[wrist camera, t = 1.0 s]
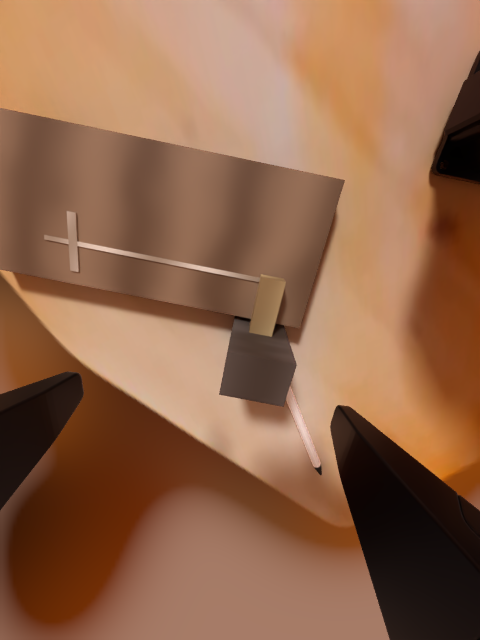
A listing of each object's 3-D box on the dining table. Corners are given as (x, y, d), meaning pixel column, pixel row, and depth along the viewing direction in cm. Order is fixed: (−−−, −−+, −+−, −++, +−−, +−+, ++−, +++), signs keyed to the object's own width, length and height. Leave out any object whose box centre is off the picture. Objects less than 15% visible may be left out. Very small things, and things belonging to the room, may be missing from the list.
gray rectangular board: (334, 185, 17) (345, 179, 15) (295, 319, 20) (300, 328, 18) (-16, 112, 16) (-53, 96, 14) (7, 262, 20) (-21, 266, 18)
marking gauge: (295, 276, 19) (317, 300, 12) (274, 353, 21) (283, 406, 15) (244, 266, 19) (240, 284, 12) (229, 345, 21) (219, 394, 15)
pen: (263, 317, 21) (264, 322, 20) (324, 470, 27) (326, 480, 25) (254, 320, 21) (253, 325, 20) (316, 471, 27) (318, 481, 26)
